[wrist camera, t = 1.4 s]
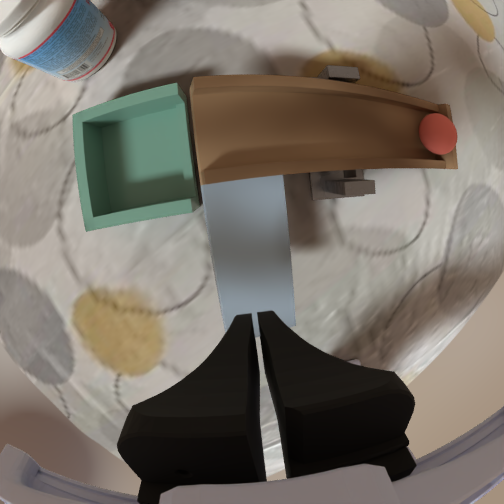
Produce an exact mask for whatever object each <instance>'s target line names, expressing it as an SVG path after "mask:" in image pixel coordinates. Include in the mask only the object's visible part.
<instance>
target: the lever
mask: <svg viewBox="0 0 504 504" xmlns="http://www.w3.org/2000/svg"><path fill="white" fill-rule="evenodd" d="M189 91H190V101H191V111H192V120H193V129H194V138H195V146H196V154H197V162H198V170H199V177H200V185H201V192H202V199H203V206H204V212H205V219H206V226H207V232H208V238H209V244H210V251H211V257H212V263H213V268H214V274H215V280H216V285H217V291H218V296H219V302H220V307H221V312H222V318H223V323H224V328H225V333H226V332H227V330H228V328H229V327H230V325H231V323H232V321H233V319H234V317H235V316H236V315H240V314H248V313H252V320H253V327H254V334H255V337H259V336H260V332H259V324H258V317H257V312H263V311H270V310H272V311H274V312H275V313H276V314H277V316H278V317H279V318H280V319H281V320H282V321H283V322H284V323H285V324H286V325H287V326H288V327H292V326H296V320H295V304H294V290H293V276H292V264H291V252H290V241H289V230H288V219H287V209H286V200H285V190H284V181H283V175H286V174H297V173H308V172H321V171H336V170H343V173H344V178H355V177H356V169H383V168H439V169H458V165H457V153H456V145H455V147H454V149H453V150H452V151H451V152H449V153H447V154H443V155H439V154H435V153H432V152H431V151H429V150H428V149H427V148H426V147H425V146H424V145H423V144H422V142H421V140H420V137H419V125H420V123H421V121H422V119H423V118H424V117H425V116H427V115H429V114H432V113H438V114H442V115H444V116H446V117H447V118H448V119H450V121H451V122H452V116H451V110H450V105H448V104H440V105H437V104H434V103H431V102H428V101H425V100H421V99H418V98H415V97H411V96H407V95H404V94H400V93H396V92H392V91H388V90H383V89H379V88H374V87H369V86H364V85H359V84H353V83H347V82H341V81H334V80H327V79H318V78H309V77H297V76H282V75H216V76H200V77H193V80H192V83H191V87H190V90H189ZM452 123H453V122H452Z"/></svg>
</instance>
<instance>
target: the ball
mask: <svg viewBox="0 0 504 504" xmlns="http://www.w3.org/2000/svg"><path fill="white" fill-rule="evenodd" d="M419 137H420V140H421V142H422V144H423V145H424V146H425V147H426V148H427V149H428V150H429V151H431V152H432V153H435V154H439V155H443V154H447V153H449V152H451V151H452V150H453V149H454V147H455V145H456V142H457V131H456V128H455V126H454V124H453V123H452V122H451V121H450V119H448V118H447V117H446V116H444V115H442V114H438V113H432V114H429V115H427V116H425V117H424V118H423V119H422V121H421V123H420V125H419Z"/></svg>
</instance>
